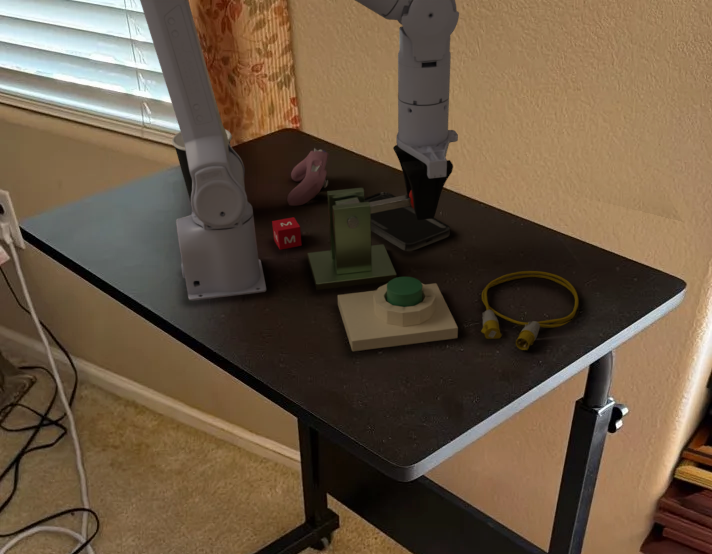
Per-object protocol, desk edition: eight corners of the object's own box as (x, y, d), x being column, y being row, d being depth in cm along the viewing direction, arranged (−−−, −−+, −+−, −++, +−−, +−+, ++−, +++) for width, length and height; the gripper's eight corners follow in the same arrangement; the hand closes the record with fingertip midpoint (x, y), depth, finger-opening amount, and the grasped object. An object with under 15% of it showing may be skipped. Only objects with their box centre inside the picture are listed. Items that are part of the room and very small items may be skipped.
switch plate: (352, 353, 98) (351, 327, 95) (338, 307, 105) (336, 281, 103) (457, 340, 99) (458, 313, 97) (436, 295, 106) (436, 269, 104)
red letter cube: (295, 237, 118) (294, 217, 116) (301, 247, 116) (300, 226, 114) (274, 242, 118) (272, 221, 116) (280, 252, 116) (277, 230, 114)
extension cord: (437, 317, 103) (438, 302, 101) (525, 269, 110) (527, 254, 109) (518, 359, 96) (520, 344, 94) (606, 305, 103) (609, 290, 102)
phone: (385, 190, 125) (453, 228, 116) (385, 198, 126) (453, 236, 117) (339, 206, 122) (406, 246, 113) (340, 214, 123) (406, 254, 114)
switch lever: (432, 201, 108) (430, 177, 106) (438, 213, 106) (437, 188, 104) (337, 220, 108) (333, 196, 106) (341, 232, 106) (337, 207, 103)
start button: (390, 310, 98) (390, 296, 97) (383, 292, 101) (383, 278, 100) (425, 305, 99) (426, 292, 97) (417, 288, 102) (417, 274, 100)
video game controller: (314, 218, 126) (333, 175, 122) (284, 205, 125) (303, 161, 120) (317, 188, 133) (336, 147, 129) (289, 176, 132) (307, 133, 128)
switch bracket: (383, 252, 115) (383, 179, 108) (396, 282, 109) (396, 208, 102) (307, 261, 114) (302, 188, 107) (316, 292, 108) (311, 217, 101)
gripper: (476, 116, 93) (469, 234, 102) (442, 72, 104) (439, 183, 113) (411, 123, 93) (410, 241, 102) (383, 78, 103) (385, 189, 112)
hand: (421, 211), depth 107 cm, fingers closed on switch lever, 3 cm apart
